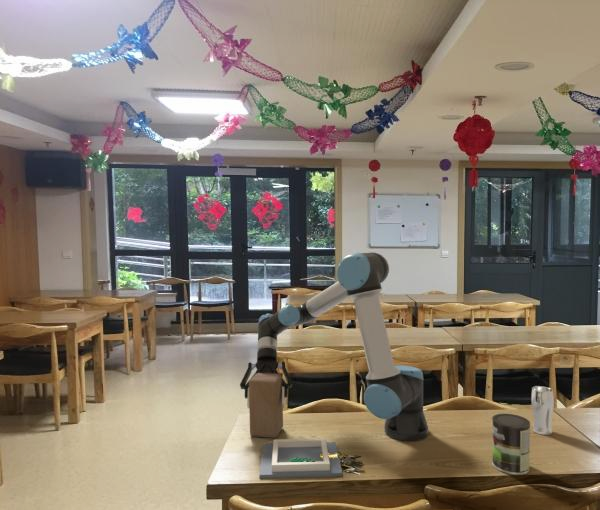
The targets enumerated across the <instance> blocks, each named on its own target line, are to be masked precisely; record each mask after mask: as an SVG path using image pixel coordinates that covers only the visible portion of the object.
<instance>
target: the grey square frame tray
mask: <svg viewBox="0 0 600 510" xmlns="http://www.w3.org/2000/svg"><path fill="white" fill-rule="evenodd" d="M261 453H262V454H261V459H260V468H259V479H281V478H318V477H319V478H321V477H343V469H342V465H341V460H340V457H339V458H334V459H333V458H331V459H329V456H328V453H330V454H334V453H338V454H339V450H338V446H337V443H336V441H330V442H329V441H328V442H327V440H326V438H325V437H322V438H286V439H285V438H284V439H281V438H280V439H273V443H263V445H262V452H261ZM320 454H323V459H322V458H321V457H320ZM297 457H301V458H307V459H311V460H313V461H315V462H291V461H290V460H289V459H290V458H297Z"/></svg>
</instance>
